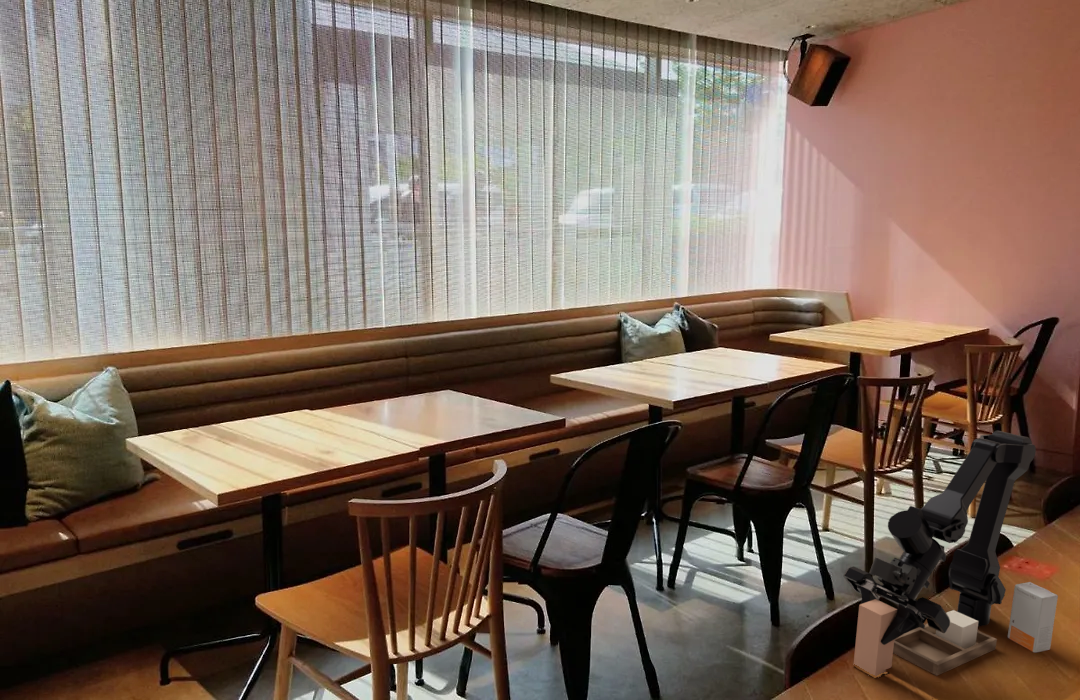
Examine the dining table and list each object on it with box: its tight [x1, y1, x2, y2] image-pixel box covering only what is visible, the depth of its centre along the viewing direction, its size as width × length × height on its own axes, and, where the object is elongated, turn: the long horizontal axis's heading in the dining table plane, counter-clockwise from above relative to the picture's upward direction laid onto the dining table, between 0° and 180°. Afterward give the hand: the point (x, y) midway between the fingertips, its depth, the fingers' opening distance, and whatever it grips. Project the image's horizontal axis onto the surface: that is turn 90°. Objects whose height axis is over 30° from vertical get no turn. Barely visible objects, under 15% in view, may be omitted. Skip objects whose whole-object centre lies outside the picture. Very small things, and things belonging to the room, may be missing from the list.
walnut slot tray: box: [893, 623, 998, 677], centre depth 155 cm, size 18×10×3 cm, turn 122°
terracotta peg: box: [853, 599, 898, 676], centre depth 148 cm, size 4×4×12 cm
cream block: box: [936, 609, 979, 649], centre depth 157 cm, size 5×5×5 cm
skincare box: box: [1007, 581, 1059, 653], centre depth 157 cm, size 6×4×12 cm
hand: (870, 637), depth 148 cm, fingers closed on terracotta peg, 4 cm apart
